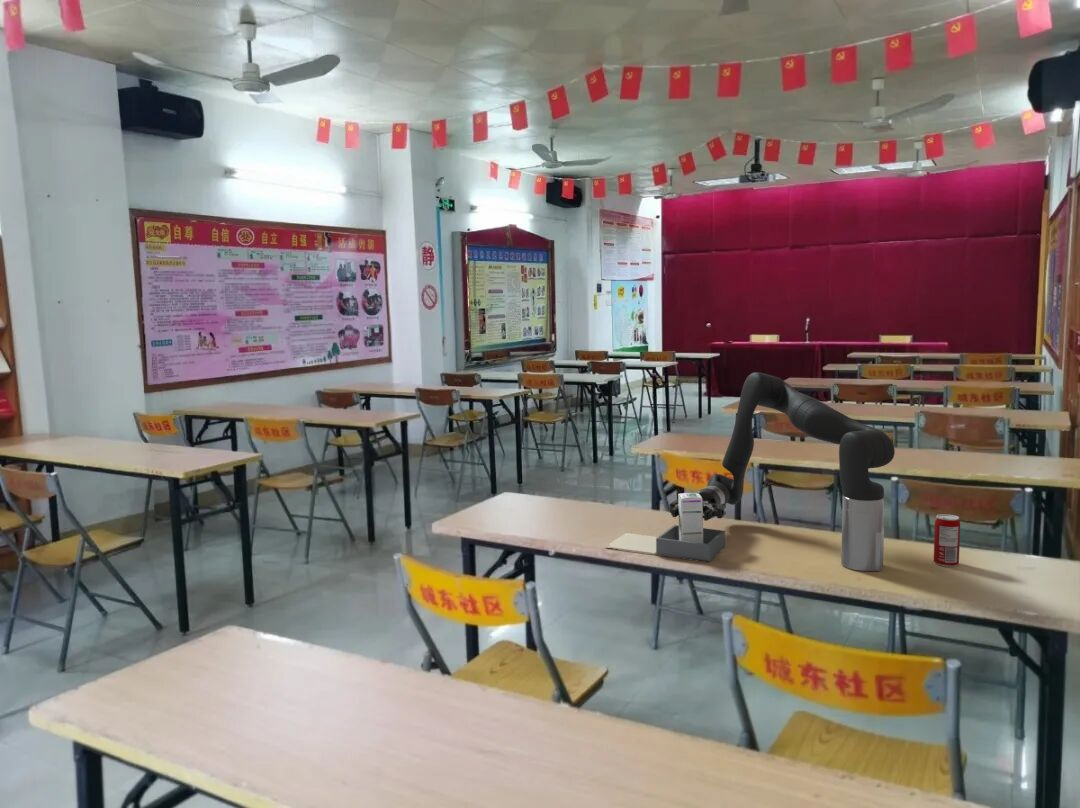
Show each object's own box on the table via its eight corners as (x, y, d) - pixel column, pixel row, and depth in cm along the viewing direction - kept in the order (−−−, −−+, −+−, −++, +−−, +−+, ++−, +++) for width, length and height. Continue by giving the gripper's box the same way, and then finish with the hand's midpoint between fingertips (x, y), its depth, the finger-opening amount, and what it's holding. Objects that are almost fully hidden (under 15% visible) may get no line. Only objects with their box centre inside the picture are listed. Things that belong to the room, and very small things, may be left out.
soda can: (946, 559, 195) (947, 511, 194) (964, 565, 190) (966, 517, 188) (928, 561, 193) (929, 514, 192) (945, 568, 188) (947, 519, 187)
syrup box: (704, 552, 204) (703, 497, 202) (681, 552, 204) (680, 497, 202) (700, 545, 209) (700, 492, 208) (677, 545, 209) (677, 492, 208)
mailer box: (724, 547, 209) (725, 530, 208) (709, 562, 197) (709, 544, 196) (625, 534, 223) (625, 519, 222) (605, 548, 211) (605, 531, 210)
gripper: (683, 485, 221) (663, 498, 207) (733, 490, 214) (716, 503, 200) (683, 511, 222) (663, 526, 208) (733, 517, 215) (716, 532, 201)
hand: (689, 515), depth 204 cm, fingers open, 8 cm apart
